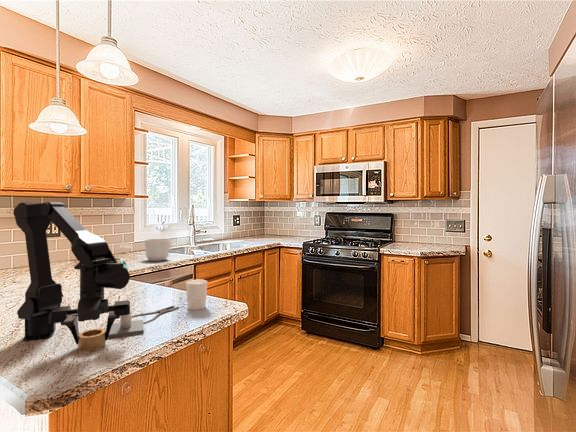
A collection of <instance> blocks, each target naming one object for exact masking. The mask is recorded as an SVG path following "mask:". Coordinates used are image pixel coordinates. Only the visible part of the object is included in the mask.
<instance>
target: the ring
mask: <svg viewBox="0 0 576 432" xmlns="http://www.w3.org/2000/svg"><path fill="white" fill-rule="evenodd" d="M105 334H106V329H104V328H92V329H91V328H90V329H87V330H84V331H82V332H79V335H78V344H77V349H78V350H79V351H82V352H83V351H84V352H85V351H86V352H89V351H95V350H97V349H100V348H102V347H104V346H106V343H107V340H105Z"/></svg>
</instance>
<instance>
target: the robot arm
mask: <svg viewBox="0 0 576 432" xmlns="http://www.w3.org/2000/svg"><path fill="white" fill-rule="evenodd" d="M13 216H14V219H15V224H16V226H17V227H18V228H19V229H20V230H21V231H22V233H24V235H25V245H26V252H27V260H28V261H27V262H28V270H29V276H30V284H29V286H28V287H27V289H26V291H25V293H24V297H25V298H24V302H23V303H22V304H21V306H20V307H19V308H18V310H17V311H16V313H17V318H18V319H20V320H24V337H23V338H22V341H23V342H25V341H30V340H31V341H32V340H39V339H48V338H51V336H52V335H53V334H54V333H55V331H56V329H57V328H56V326H57V325H56V324H60V325H61V326H66V327H67V328H68V330H69V332H70V333H71V334H72V335H71V336H72V337H73V340H74V342H75V344H76V345H78V335H79V333H80V331H79V330H80V329H79V322H85V321H97V320H99V319H100V317H101V315H102V314H108V315H107V322H106V329H105V330H106V334H105V340H106V341H107V340H108V339H109V338H108V336H109V333H110V330H111V327H112V325H113V323H115V321H116V319H117V320H118V319H120V316H122V315H128V314H130V310H131V302H130V300H127V299H126V300H115V302H114V304H113V305H109V298H105V289H114V290H122V289H124V288H126V286H127V285H128V284H129V282H130V278H131V277H130V276H131V274H130V271H129V272H128V270H127V269H126V268H124V264H123V263H117V261H116V259H115V258H116V257H115V256H114V254H113V253H112V251H111V249H110V247H109V243H108V242H107V241H106V240H104V239H103V238H102V237H100V236H99V235H96V234H94V233H91V232H90V231H88V230H87V229H86V228H85V227H84V226H83V225H82V224H81V223H80V221H79V220H78V219H77V218H76V217H75V216H73V214H72V213H71V212H70V211H69V210H68V209H67V206H66V205H65V203H63V202H60V201H46V202H19V203H18V204H17V205H16V206H15V207H14V208H13ZM51 224H53V226H55V227H56V228H57V229H58V230H59V231H60V233H62V234H63V236H64V237H65V238H66V239H67V240H68V241H69V242H70V247H71V249H70V251H71V253H72V254H73V255H74V257H75V258H76V259H77V261H78V263H77V264H76V265H75V266H74V267H73V269H74V270H79V300H78V302H77V308H74V309H73V308H71V305H64V306H61V305H62V302H63V297H64V294H63V291H62V289H63V286H62V284H61V283H57V282H56V281H55V280H54V279H53V275H52V267H51V258H50V252H49V245H48V237H47V231H48V228H49V227H50V225H51Z"/></svg>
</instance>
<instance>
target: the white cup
mask: <svg viewBox="0 0 576 432" xmlns="http://www.w3.org/2000/svg"><path fill="white" fill-rule="evenodd" d="M185 285H186V286H185V289H186V291H185V292H186V301H187V302H186V303H187V308H186V309H188V310H190V311H191V310H192V311H199V310H203V309H205V308H206V305H207V295H208V294H207V293H208V280H205V279H191V280H188V281H186V282H185Z"/></svg>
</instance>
